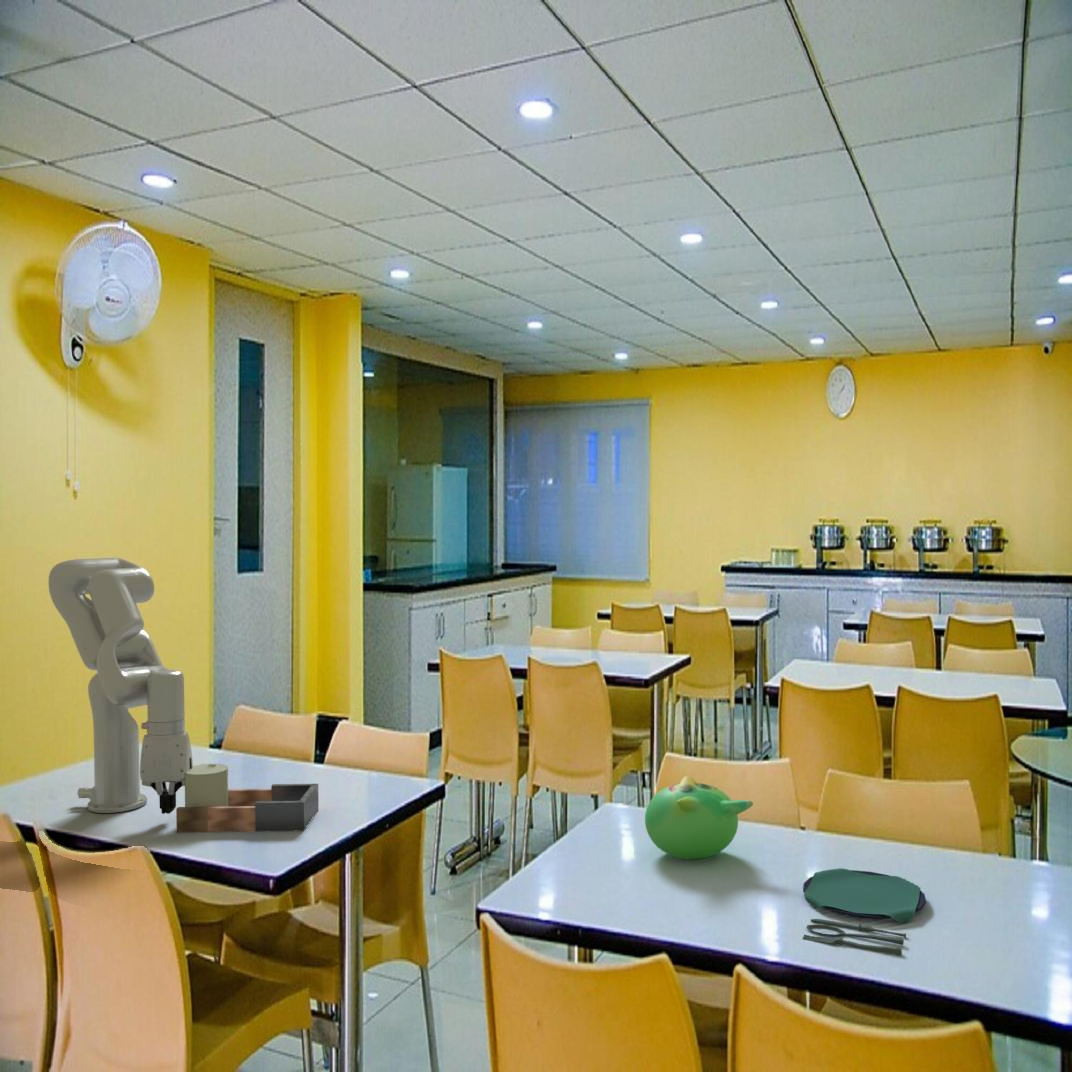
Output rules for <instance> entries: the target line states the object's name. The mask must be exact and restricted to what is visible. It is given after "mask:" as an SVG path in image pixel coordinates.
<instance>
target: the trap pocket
mask: <svg viewBox="0 0 1072 1072" xmlns="http://www.w3.org/2000/svg"><path fill="white" fill-rule="evenodd" d="M270 789H271V794H272V801H257V802H256V803H255V830H256V831H255V832H295V831H294V830H304V831H305V830H306V829H307V827H308V826H309V825H310V823H311V822H312V820H313V819H312V817H313V816H314V815H315V814H316V815H317V813H318V812H317V810H318V809H319V783H273V784H272V785H271V788H270ZM319 810H320V809H319ZM319 810H318V811H319ZM316 812H317V813H316ZM316 815H315V816H316ZM315 816H314V817H315ZM314 817H313V818H314ZM311 819H312V820H311ZM310 821H311V822H310ZM309 822H310V823H309ZM308 824H309V825H308ZM307 825H308V826H307ZM306 826H307V827H306ZM305 828H306V829H305Z"/></svg>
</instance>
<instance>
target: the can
mask: <svg viewBox="0 0 1072 1072" xmlns="http://www.w3.org/2000/svg"><path fill="white" fill-rule="evenodd" d="M228 778H229V767H228V765H227V764H222V763H205V764H198V765H193V768H191V767H190V769H189V771H188V772H185V786H184V807H222V806H228V789H229V780H228Z"/></svg>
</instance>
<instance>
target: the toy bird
mask: <svg viewBox="0 0 1072 1072" xmlns="http://www.w3.org/2000/svg"><path fill="white" fill-rule="evenodd" d="M753 805H754V802H753V801H752V800H749V799H748V800H747V799H736V800H735V799H734V800H731V798H730V797H729V796H728V795H727V794H726V793H725V792H724V791H722V790H721V789H719V788H718V787H715V786H714V785H710V784H707V783H703V782H698V781H697V782H696V780H695V779H694V778H693V777H692V776H691V775H685V776H684V777H682V779H681V780H680V782H679V783H678V782H677V783H675V784H671V785H669V786H666V787H664V788H662V789H661V790H659V791H658V792H657V793H656V794H655V795H654V796H653V797H652V798H651V800H650V801H649V803H648V805H647V807H646V809H645V814H644V824H645V828H646V829H645V830H646V832H647V834H648V836H649V839H650V840H651V841H652V843H653V844H654V845H655V846H656V848H658V849H659V850H660V851H662V852H664V853H666V854H667V855H670V856H672V857H676V858H679V859H684V860H685V859H686V860H699V859H705V858H710V857H712V856H715V855H717V854H719V853H720V852H722V851H723V850H725V849H726V848H727V847H728V846H729V845H730V844H731V842H732V841H733V839H735V836H736V834H737V831H738V828H739V827H738V826H739V818H738V817H739V816H738V815H739V814H742V813H743V812H745V811H747V810H749V809H750V808H751V807H753Z"/></svg>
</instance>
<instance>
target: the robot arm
mask: <svg viewBox="0 0 1072 1072" xmlns="http://www.w3.org/2000/svg"><path fill="white" fill-rule="evenodd" d="M47 584H48V590H49V595H50V599H51V601H52V603H53V606H54V607H55V609H56V610H57V611H58V613H59V615H60V616H61V618H63V620H64V621H65V623H66V625H67V626H68V629H69V632H70V635H71V637H72V639H73V641H74V644H75V647H76V649H77V651H78V653H79V656H80V659H81V661H82V663H83V664H84V666H85V667H86V668H87V669H89V670H91V671H96V674H94V675H93V676H92V677H91V679H90V680H89V682H88V686H87V687H88V688H87V692H88V693H87V694H88V700H89V703H90V708H91V715H92V725H93V727H92V728H93V759H94V760H93V763H94V765H93V766H94V767H93V768H94V773H93V774H94V775H93V777H94V780H93V781H94V786H92V787H90V788H89V787H79V788H78V790H77V796H78V797H77V798H79V799H89V801H88V802H87V806H86V807H87V810H88V811H89V812H92V813H98V814H114V813H115V814H116V813H122V812H123V813H124V812H129V811H131V810H136V809H138V808H141V807H143V806H144V805H147V803H148V797H147V795H145V794H143V793H141V792H140V789H141V788H140V786H141V785H142V786H145V787H149V788H150V787H151V788H152V789H153V790H154V792H156V794H157V795H158V796H159V797H158V798H159V809H160V810H161V814H163V815H165V814H167V815H169V814H171V813H172V812H173V811H175V809H176V807H177V792H178V791H179V790H180V788H182V787H185V772H188V771H189V769H190V767H191V768H193V766H194V764H193V763H194V762H193V753H192V745H191V741H190V736H189V733H188V731H186V725H185V723H186V720H185V718H186V717H185V715H186V713H185V677H184V673H182V672H181V671H180V670H178V669H170V668H167V667H165V666H164V665H163V663H162V661H161V658H160V656H159V654H158V652H157V650H156V648H155V645H154V642H153V641H152V639H151V638H152V637H150V635H149V634H148V632H147V631H146V630H144V626H145V622H144V619H143V616H142V615H141V612H140V610H139V606H138V605H137V604H140V603H141V604H142V603H147V602H149V601H150V600H152V598H153V596H154V593H155V583H154V580H153V578H152V576H151V574H150V573H149V571H147V569H145V568H144V567H142V566H140V565H137V564H135V563H133V562H130V561H128V560H126V559H123V558H119V557H104V558H77V559H76V558H75V559H69V560H64V561H61V562H59V563H57V564H55V565H54V566H53V567H52V568H51V570H50V571H49V575H48V583H47ZM86 595H89V596H90V598H89V597H87V596H86ZM141 706H147V720H146V721H145V722H141V725H140V727H141V730H146V733H147V734H144V735H143V739H142V743H141V751H140V735H139V734H140V731H139V730H140V729H139V725H138V723H137V721H136V719H135V718H134V717H133V715H132V714H131V713H130V711H129V709H133V708H136V707H141ZM140 780H141V783H140ZM167 783H168V786H167Z"/></svg>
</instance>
